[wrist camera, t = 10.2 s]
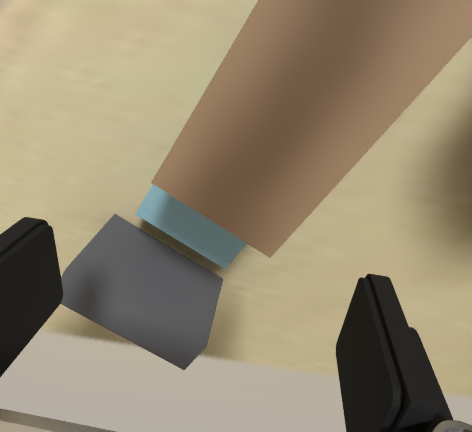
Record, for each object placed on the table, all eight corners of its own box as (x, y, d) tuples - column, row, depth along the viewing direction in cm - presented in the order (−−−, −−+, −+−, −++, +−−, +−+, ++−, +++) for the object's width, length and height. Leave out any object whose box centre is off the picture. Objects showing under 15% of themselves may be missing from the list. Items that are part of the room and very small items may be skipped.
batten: (254, 212, 26) (250, 239, 23) (232, 239, 28) (225, 269, 25) (172, 159, 25) (155, 179, 22) (153, 190, 27) (135, 214, 23)
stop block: (223, 279, 29) (206, 346, 23) (204, 300, 31) (184, 370, 25) (114, 213, 28) (65, 268, 22) (100, 239, 29) (50, 298, 23)
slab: (440, -4, 15) (518, -15, 10) (274, 198, 21) (270, 257, 16) (331, -99, 14) (355, -166, 9) (186, 140, 20) (151, 182, 15)
